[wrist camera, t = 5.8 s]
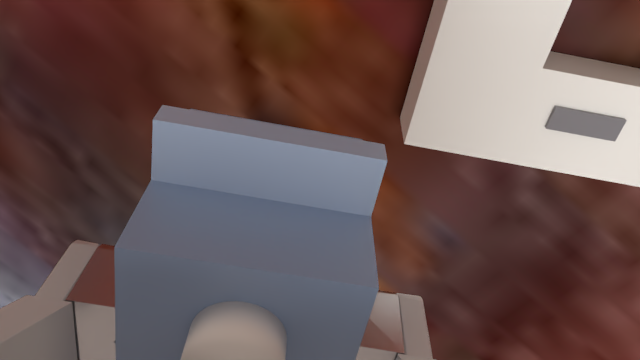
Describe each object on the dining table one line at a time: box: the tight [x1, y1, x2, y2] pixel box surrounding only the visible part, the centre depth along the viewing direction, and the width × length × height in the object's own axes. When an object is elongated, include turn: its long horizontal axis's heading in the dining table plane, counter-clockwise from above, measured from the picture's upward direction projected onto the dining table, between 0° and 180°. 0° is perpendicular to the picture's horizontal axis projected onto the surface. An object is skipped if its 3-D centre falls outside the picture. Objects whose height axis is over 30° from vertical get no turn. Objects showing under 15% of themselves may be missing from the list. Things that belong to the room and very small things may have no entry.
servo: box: [114, 105, 387, 360], centre depth 11 cm, size 8×4×6 cm, turn 169°
